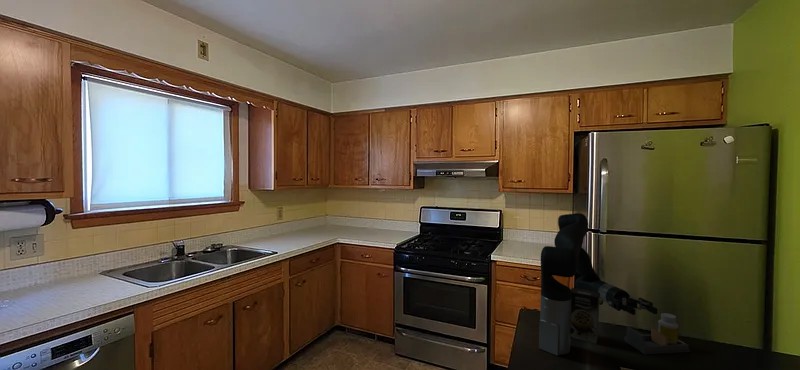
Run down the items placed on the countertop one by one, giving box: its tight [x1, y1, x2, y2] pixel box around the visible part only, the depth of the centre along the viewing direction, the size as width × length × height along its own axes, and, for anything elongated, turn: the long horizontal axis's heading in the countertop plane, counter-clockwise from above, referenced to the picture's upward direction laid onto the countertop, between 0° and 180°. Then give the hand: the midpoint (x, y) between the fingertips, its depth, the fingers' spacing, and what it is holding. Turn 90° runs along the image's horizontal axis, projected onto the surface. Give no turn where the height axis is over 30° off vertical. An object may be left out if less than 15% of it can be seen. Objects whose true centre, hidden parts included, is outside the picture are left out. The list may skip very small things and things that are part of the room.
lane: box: [623, 326, 691, 355], centre depth 116 cm, size 16×9×5 cm, turn 96°
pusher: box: [650, 328, 668, 345], centre depth 116 cm, size 1×6×4 cm, turn 6°
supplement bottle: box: [657, 312, 679, 345], centre depth 117 cm, size 5×5×10 cm
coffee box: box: [570, 287, 601, 344], centre depth 122 cm, size 9×6×16 cm
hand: (645, 312), depth 126 cm, fingers open, 8 cm apart
